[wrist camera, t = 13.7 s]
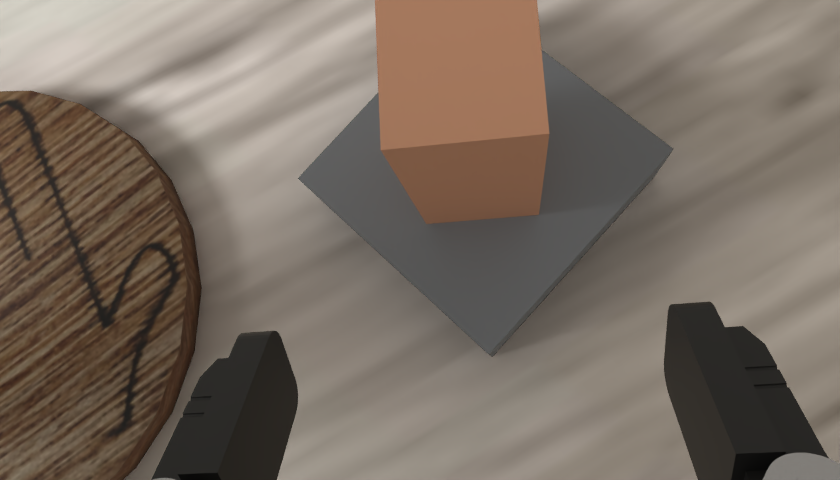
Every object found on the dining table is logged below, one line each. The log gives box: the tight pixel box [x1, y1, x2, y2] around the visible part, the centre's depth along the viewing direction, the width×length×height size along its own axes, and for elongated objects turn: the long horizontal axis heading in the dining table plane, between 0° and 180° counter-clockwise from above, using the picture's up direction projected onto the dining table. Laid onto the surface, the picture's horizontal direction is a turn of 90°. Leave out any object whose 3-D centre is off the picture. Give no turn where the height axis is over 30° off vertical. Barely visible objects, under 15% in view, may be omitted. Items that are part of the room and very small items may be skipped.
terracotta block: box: [375, 0, 549, 224], centre depth 25 cm, size 5×5×10 cm
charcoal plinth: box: [298, 51, 673, 356], centre depth 31 cm, size 12×12×4 cm
